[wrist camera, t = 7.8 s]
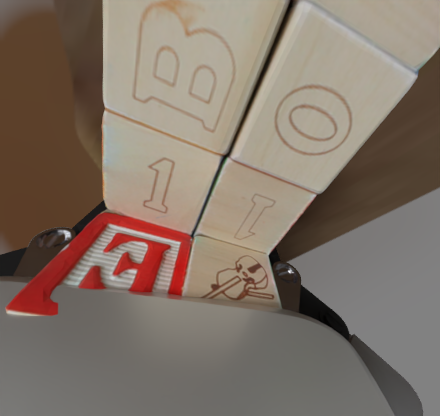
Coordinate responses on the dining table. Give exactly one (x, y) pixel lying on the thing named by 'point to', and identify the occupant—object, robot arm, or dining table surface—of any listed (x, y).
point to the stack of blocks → (229, 135)
